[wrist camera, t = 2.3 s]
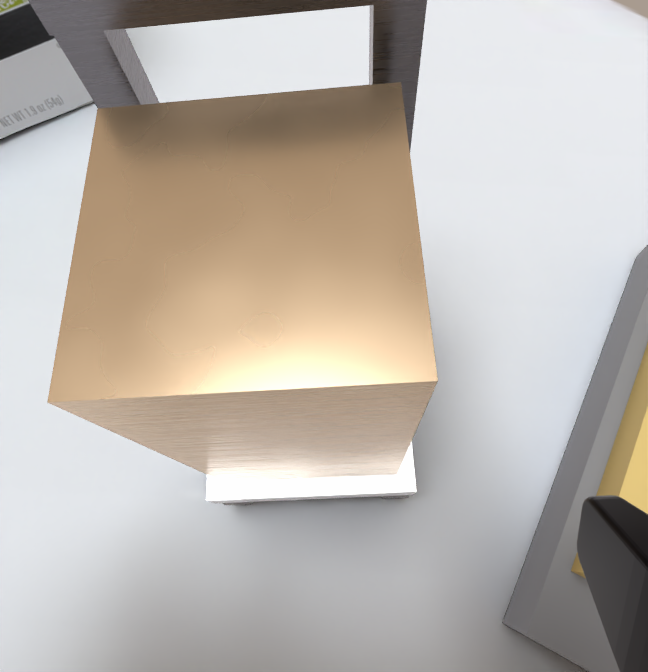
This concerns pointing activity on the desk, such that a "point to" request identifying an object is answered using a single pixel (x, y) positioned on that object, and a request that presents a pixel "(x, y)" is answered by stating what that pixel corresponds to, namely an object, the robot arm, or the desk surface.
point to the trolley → (249, 263)
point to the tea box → (33, 71)
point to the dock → (590, 489)
